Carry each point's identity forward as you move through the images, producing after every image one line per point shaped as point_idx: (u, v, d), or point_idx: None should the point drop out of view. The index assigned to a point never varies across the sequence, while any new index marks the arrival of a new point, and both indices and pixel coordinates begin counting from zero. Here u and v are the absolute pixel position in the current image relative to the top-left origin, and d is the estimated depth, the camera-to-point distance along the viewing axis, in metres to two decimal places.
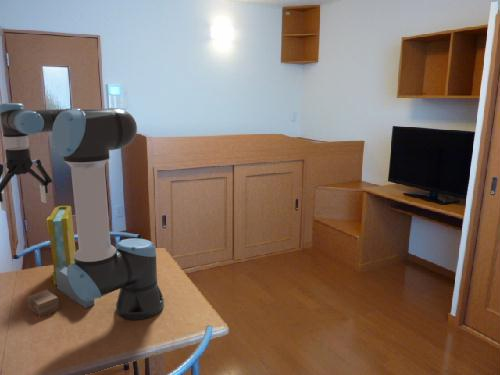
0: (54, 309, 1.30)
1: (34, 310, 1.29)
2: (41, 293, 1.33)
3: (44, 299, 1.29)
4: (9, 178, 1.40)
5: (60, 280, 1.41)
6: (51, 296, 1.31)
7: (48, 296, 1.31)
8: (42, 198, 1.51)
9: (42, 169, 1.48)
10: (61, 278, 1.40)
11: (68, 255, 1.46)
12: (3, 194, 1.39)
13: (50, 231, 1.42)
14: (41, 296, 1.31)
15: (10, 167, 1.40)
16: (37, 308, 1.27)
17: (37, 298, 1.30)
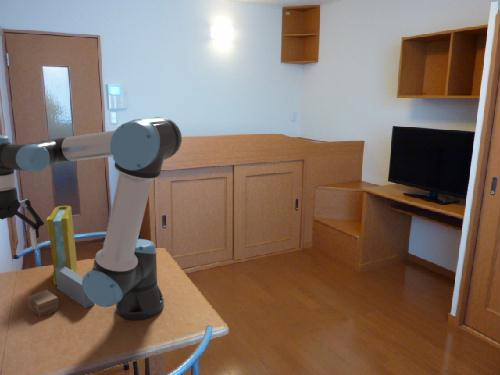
0: (54, 309, 1.30)
1: (34, 310, 1.29)
2: (41, 293, 1.33)
3: (44, 299, 1.29)
4: None
5: (60, 280, 1.41)
6: (51, 296, 1.31)
7: (48, 296, 1.31)
8: (32, 243, 1.29)
9: (32, 211, 1.26)
10: (61, 278, 1.40)
11: (68, 255, 1.46)
12: None
13: (50, 231, 1.42)
14: (41, 296, 1.31)
15: None
16: (37, 308, 1.27)
17: (37, 298, 1.30)
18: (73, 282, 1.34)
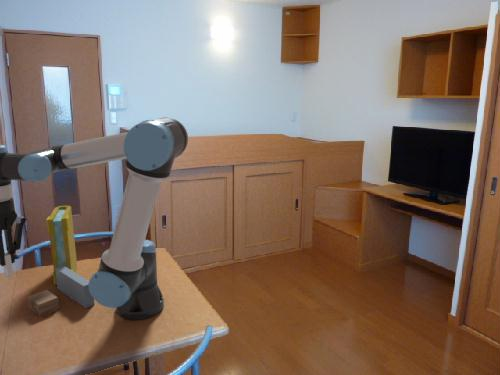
0: (54, 309, 1.30)
1: (34, 310, 1.29)
2: (41, 293, 1.33)
3: (44, 299, 1.29)
4: (0, 237, 1.17)
5: (60, 280, 1.41)
6: (51, 296, 1.31)
7: (48, 296, 1.31)
8: None
9: (20, 230, 1.21)
10: (61, 278, 1.40)
11: (68, 255, 1.46)
12: (6, 257, 1.19)
13: (50, 231, 1.42)
14: (41, 296, 1.31)
15: None
16: (37, 308, 1.27)
17: (37, 298, 1.30)
18: (73, 282, 1.34)
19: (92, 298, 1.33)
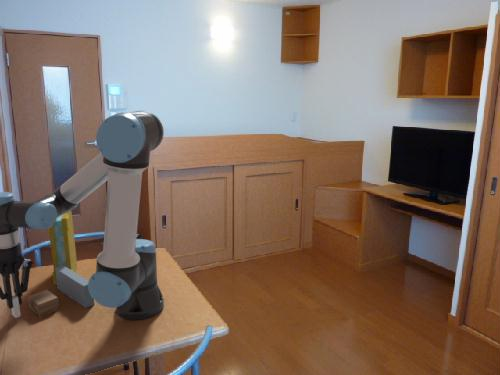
0: (54, 309, 1.30)
1: (34, 310, 1.29)
2: (41, 293, 1.33)
3: (44, 299, 1.29)
4: (8, 281, 1.20)
5: (60, 280, 1.41)
6: (51, 296, 1.31)
7: (48, 296, 1.31)
8: None
9: (27, 273, 1.24)
10: (61, 278, 1.40)
11: (68, 255, 1.46)
12: (14, 300, 1.22)
13: (50, 231, 1.42)
14: (41, 296, 1.31)
15: None
16: (37, 308, 1.27)
17: (37, 298, 1.30)
18: (73, 282, 1.34)
19: (92, 298, 1.33)
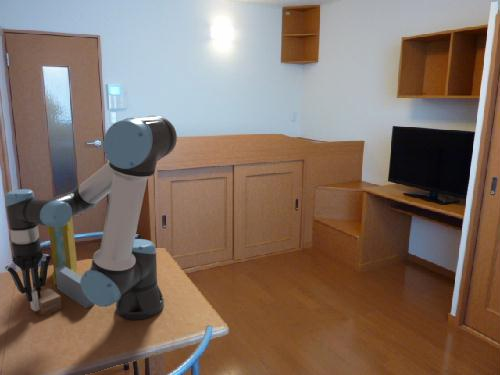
0: (57, 307, 1.31)
1: None
2: (44, 292, 1.33)
3: (47, 298, 1.29)
4: (28, 275, 1.24)
5: (60, 280, 1.41)
6: (54, 294, 1.32)
7: (51, 294, 1.32)
8: None
9: (46, 267, 1.28)
10: (61, 278, 1.40)
11: (68, 255, 1.46)
12: (33, 293, 1.26)
13: (50, 231, 1.42)
14: (43, 294, 1.32)
15: (19, 263, 1.22)
16: (40, 307, 1.28)
17: None
18: (73, 282, 1.34)
19: None
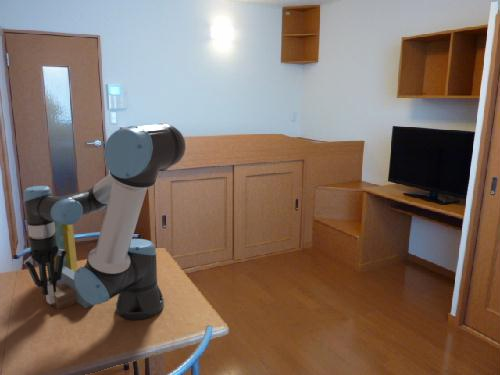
0: (72, 302, 1.34)
1: (53, 303, 1.33)
2: (59, 286, 1.37)
3: (63, 292, 1.33)
4: (44, 269, 1.28)
5: (60, 280, 1.41)
6: (69, 289, 1.35)
7: (66, 289, 1.35)
8: None
9: (61, 262, 1.32)
10: (61, 278, 1.40)
11: (68, 255, 1.46)
12: (49, 287, 1.30)
13: None
14: (59, 289, 1.35)
15: (36, 257, 1.26)
16: (56, 301, 1.31)
17: (56, 291, 1.34)
18: (73, 282, 1.34)
19: None
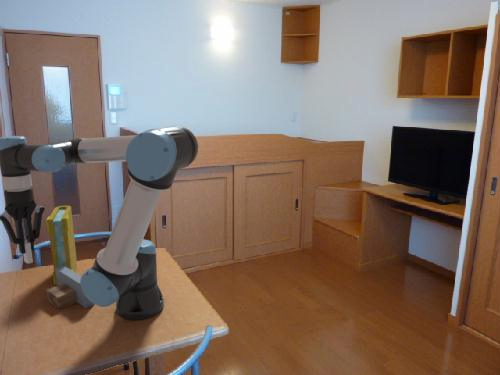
0: (72, 302, 1.34)
1: (53, 303, 1.33)
2: (59, 286, 1.37)
3: (63, 292, 1.33)
4: (20, 225, 1.21)
5: (60, 280, 1.41)
6: (69, 289, 1.35)
7: (66, 289, 1.35)
8: None
9: (39, 219, 1.25)
10: (61, 278, 1.40)
11: (68, 255, 1.46)
12: (26, 245, 1.23)
13: (50, 231, 1.42)
14: (59, 289, 1.35)
15: (12, 211, 1.18)
16: (56, 301, 1.31)
17: (56, 291, 1.34)
18: (73, 282, 1.34)
19: None
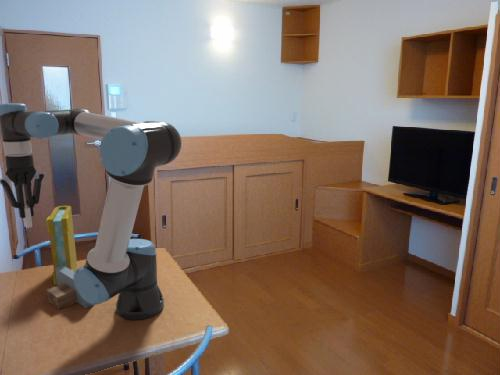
0: (72, 302, 1.34)
1: (53, 303, 1.33)
2: (59, 286, 1.37)
3: (62, 292, 1.33)
4: (21, 190, 1.25)
5: (60, 280, 1.41)
6: (69, 289, 1.35)
7: (66, 289, 1.35)
8: None
9: (39, 185, 1.29)
10: (61, 278, 1.40)
11: (68, 255, 1.46)
12: (26, 210, 1.28)
13: (50, 231, 1.42)
14: (59, 289, 1.35)
15: (12, 176, 1.23)
16: (56, 301, 1.31)
17: (56, 291, 1.34)
18: (73, 282, 1.34)
19: None
